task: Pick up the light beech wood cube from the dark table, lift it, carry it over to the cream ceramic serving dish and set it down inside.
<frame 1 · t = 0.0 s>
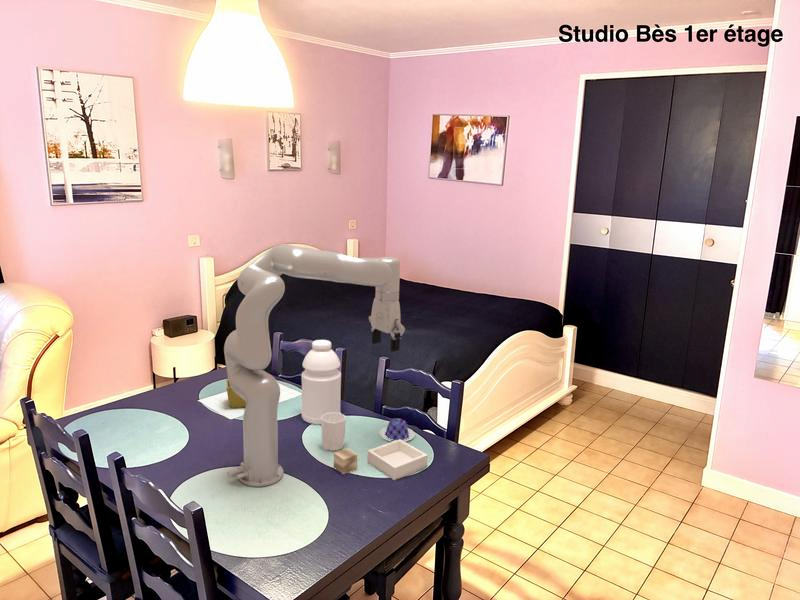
hand: (385, 346, 194), 31 cm above the table, tool pointing down, fingers open, 9 cm apart
white cup: (333, 446, 192), on the table
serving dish: (397, 464, 181), on the table
white bottle: (321, 417, 213), on the table
pudding: (397, 436, 201), on the table
beech cube: (345, 468, 178), on the table
flower pot: (239, 405, 220), on the table
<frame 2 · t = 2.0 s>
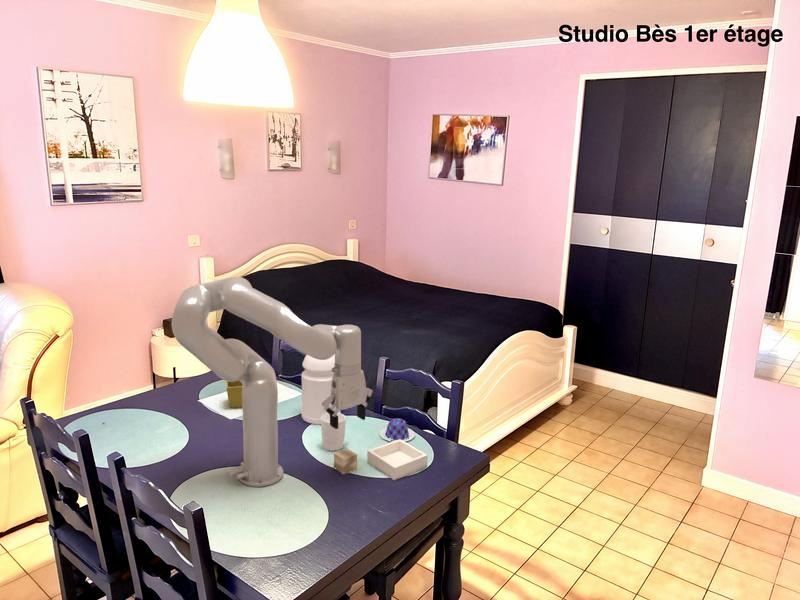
hand: (348, 422, 175), 15 cm above the table, tool pointing down, fingers open, 9 cm apart
nothing on the table moved.
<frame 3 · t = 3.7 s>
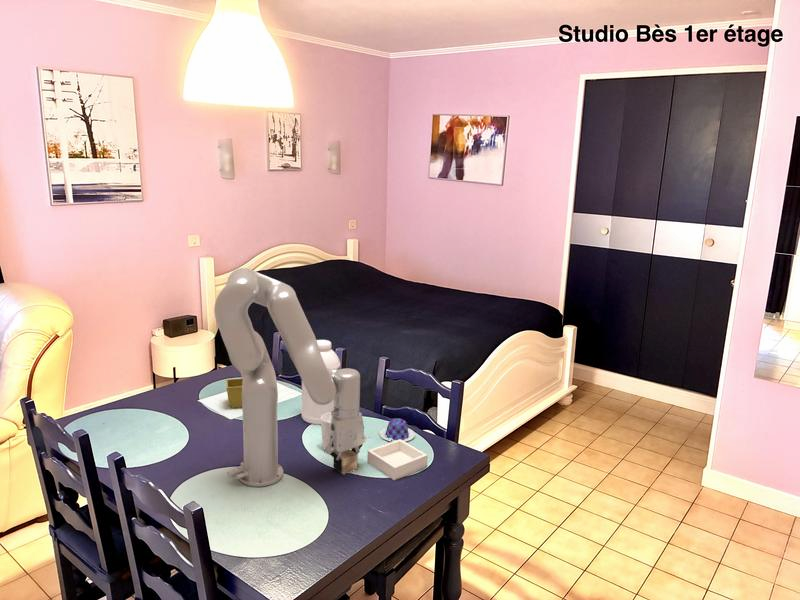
hand: (345, 466, 178), 1 cm above the table, tool pointing down, fingers closed on beech cube, 5 cm apart
beech cube: (345, 468, 178), on the table, touching gripper
everything else where it was.
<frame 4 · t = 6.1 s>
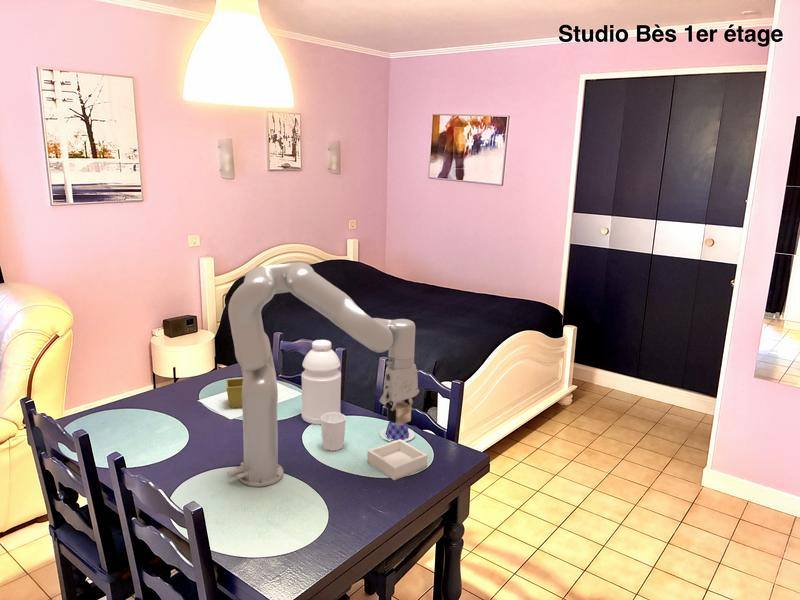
hand: (398, 418, 178), 15 cm above the table, tool pointing down, fingers closed on beech cube, 5 cm apart
beech cube: (398, 420, 178), point 15 cm above the table, touching gripper
everything else where it was.
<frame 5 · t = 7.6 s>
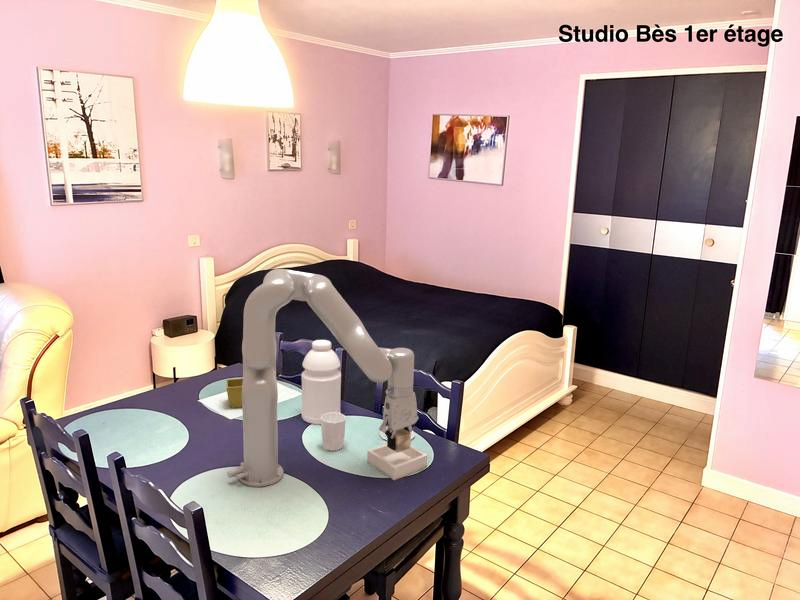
hand: (398, 445, 180), 7 cm above the table, tool pointing down, fingers closed on beech cube, 5 cm apart
beech cube: (398, 447, 180), point 6 cm above the table, touching gripper
everything else where it was.
when the fingers open (3 cm above the table, at t = 8.8 s): beech cube drops 1 cm, resting on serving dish.
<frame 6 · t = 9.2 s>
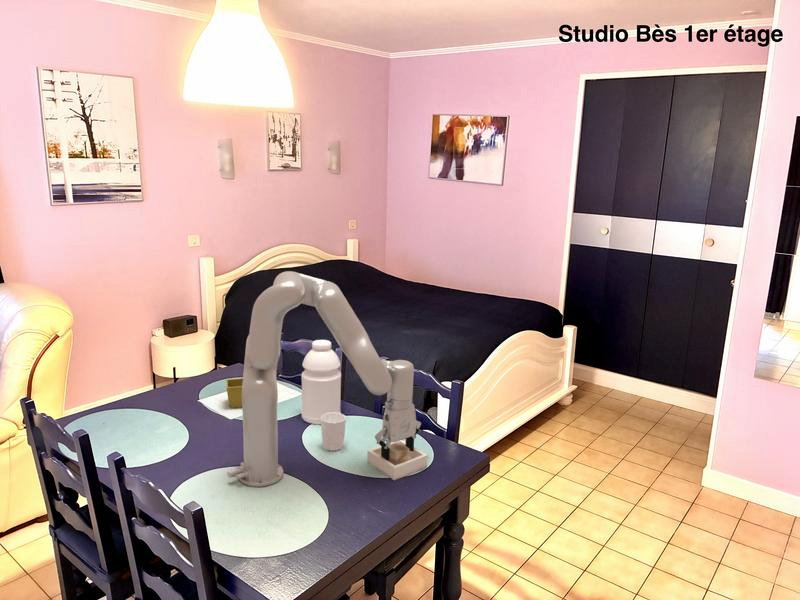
hand: (397, 454, 181), 4 cm above the table, tool pointing down, fingers open, 9 cm apart
beech cube: (397, 462, 181), point 1 cm above the table, touching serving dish
everything else where it was.
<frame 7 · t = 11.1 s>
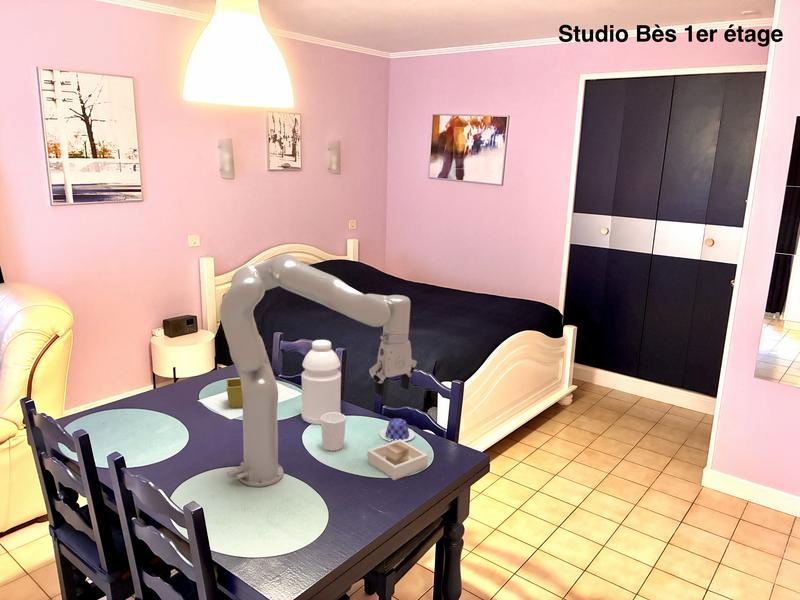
hand: (392, 391, 179), 23 cm above the table, tool pointing down, fingers open, 9 cm apart
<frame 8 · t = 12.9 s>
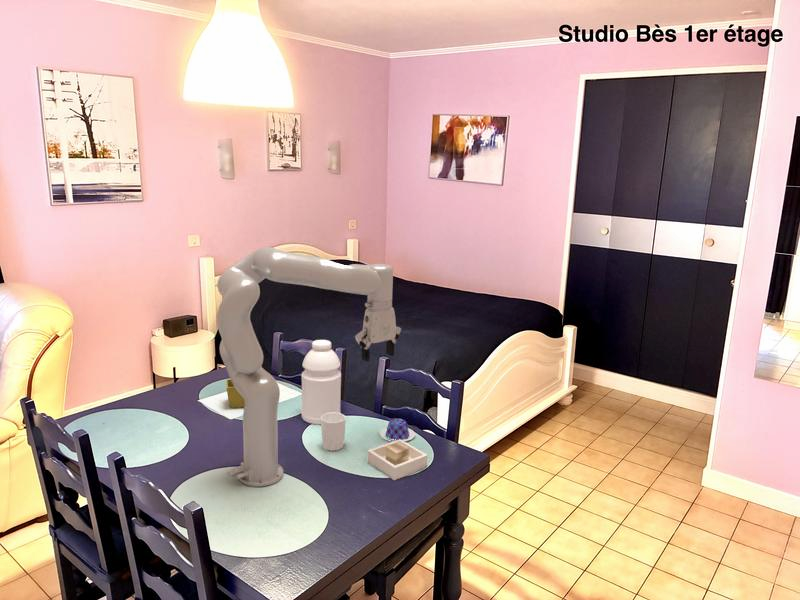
hand: (377, 357, 186), 30 cm above the table, tool pointing down, fingers open, 9 cm apart
at the end: beech cube inside the target area on the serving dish (0.1 cm from its centre), point 0.8 cm above the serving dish's base; the gripper is holding nothing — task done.
